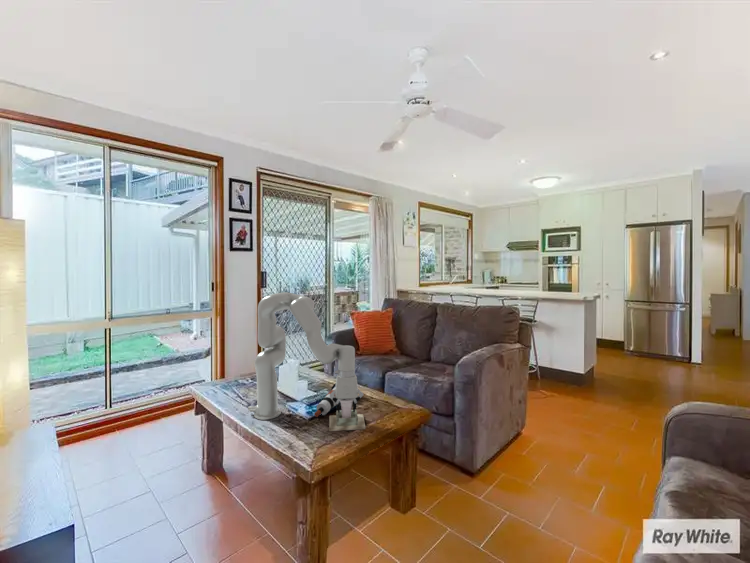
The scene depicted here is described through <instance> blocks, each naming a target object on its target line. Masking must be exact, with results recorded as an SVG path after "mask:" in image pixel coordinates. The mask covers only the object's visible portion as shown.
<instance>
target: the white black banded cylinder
mask: <svg viewBox="0 0 750 563" xmlns="http://www.w3.org/2000/svg"><path fill="white" fill-rule="evenodd" d="M335 388H336V382H334V383H333V385H332V386H331V389H330V391H329V392H328V393H327V394H326V395H325V397H324V398H322V400H321V401H320V402H319V403H318V404H317V405H316V411H315V412H314V417H316V418H317V417H319V416H320V415H321V414H322V415H321V416H326V415H327V414H328V413H329V412H330V411H331V410H333V409H334V407H337V404H336V403H335V402H334V401H333V399H331V398H330V397H329V395H330V394H331V393H332V392H333V391H334V390H335ZM333 396H334V397H335V398H336V396H335V394H334V395H333ZM336 399H337V398H336ZM339 402H340V401H339Z"/></svg>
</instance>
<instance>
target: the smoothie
mask: <svg viewBox="0 0 750 563" xmlns="http://www.w3.org/2000/svg"><path fill="white" fill-rule="evenodd" d="M353 401H354V400H353V399H340V410H341V412H342V418H351V410H353Z"/></svg>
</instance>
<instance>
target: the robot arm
mask: <svg viewBox="0 0 750 563" xmlns="http://www.w3.org/2000/svg"><path fill="white" fill-rule="evenodd" d="M314 309H315V302H314V301H313V299H312V298H310V297H309V296H306V295H301V294H296V293H292V292H288V291H286V292H285V291H284V292H277V293H273V294H269V295H267V296H264V297H263V298H262V299H261V300H260V301H259V302H258V304H257V344H258V345H259V347H261V348H263V349H265V350H263V351H261V352H259V353H258V354H257V355H256V356H255V359H254V368H255V374H256V403H257V404H256V405H254V406H253V405H252V406H248V407H247V410H248V411H249V413H253V417H254V418H255V419H257V420H262V421H266V420H267V421H268V420H272V419H275V418H278V417H279V416H280V415H281V414H282V410H281V409H280V408H279V407H278V404H279V403H278V398H279V397H278V375H277V372H276V367H277V366H279V365H281V364H282V363H283V362H284V361H285V358H286V348H287V347H286V346H287V345H286V344H287V343H286V342H287V341H286V340H287V339H286V337H287V336H286V332H285V330H284V328H283V327H282V326H280V325H277V317H276V314H275V313H276V312H280V311H285V310H289V311H290V312H291V314H292V315H293V317H294V318H295V320H296V321H297V323H298V325H300V326H301V328H302V330H303V332H304V333H305V336H306V340H307V342H308V346H309V349H310V350H311V352H312V353H313V355H314V357H315V358H316V360H318V362H320V363H321V364H323V365H330V364H332V363H334V361H337V360H338V362H337V363H338V367H337V368H338V369H337V370H335V371H334V373H335V374H337V375H336V378H335V383H336V388H335V390H334V391H333V392H332V393H331V394H330V395H329V397H330V398H331V399H333V401H334V402H335V403H336V404H337V405H336V411H338V413H339V412H340V410H341V403H340V402H339V401H340V399H353V403H352V410H353V412H355V410H357V404H358V402H359V401H360V400H361V398H362V397H363V396H364V393H363V391H361V390H360V389H359V388H358V387H359V386H358V377H357V375H356V372H355V370H356V367H355V366H356V364H355V363H356V360H355V359H356V357H355V356H356V349H355V347H354V346H353V345H346V344H345V345H343V344H339V343H333V342H332V343H329V344H326V342H325V341H324V339H323V336H322V322H321V320H320V319H319V318H318V316H317V314H316V313H315V312H314ZM334 394H335V396H336V398H337V399H336V398H335V397H334V396H333V395H334Z"/></svg>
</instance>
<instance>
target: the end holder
mask: <svg viewBox="0 0 750 563" xmlns="http://www.w3.org/2000/svg"><path fill="white" fill-rule="evenodd" d="M335 414H336V415H334V414H333V415H329V420H328V422H329V427H328V428H329V430H328V431H329V432H334V431H354V430H356V431H357V430H366V423H365V418H364V413H358V411H357V409H355V412H353V409H352V410H351V418H342V412H341V409H340V412H339V413H338V410H336V412H335Z"/></svg>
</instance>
